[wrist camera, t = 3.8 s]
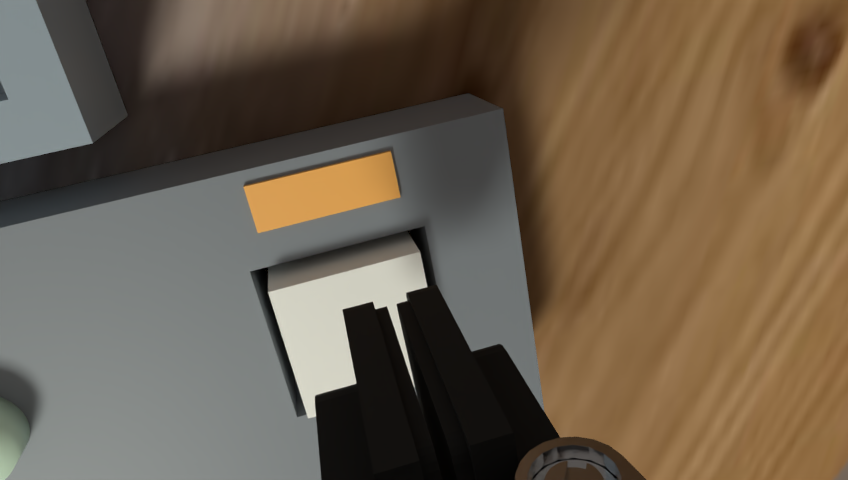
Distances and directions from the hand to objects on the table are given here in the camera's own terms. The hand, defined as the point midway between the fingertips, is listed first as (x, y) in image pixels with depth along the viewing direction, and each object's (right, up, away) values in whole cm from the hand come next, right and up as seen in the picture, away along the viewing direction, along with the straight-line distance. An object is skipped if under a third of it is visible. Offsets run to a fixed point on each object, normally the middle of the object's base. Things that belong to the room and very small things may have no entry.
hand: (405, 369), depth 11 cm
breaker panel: (-5, 0, +5) cm, 7 cm away
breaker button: (-2, +1, +5) cm, 5 cm away
